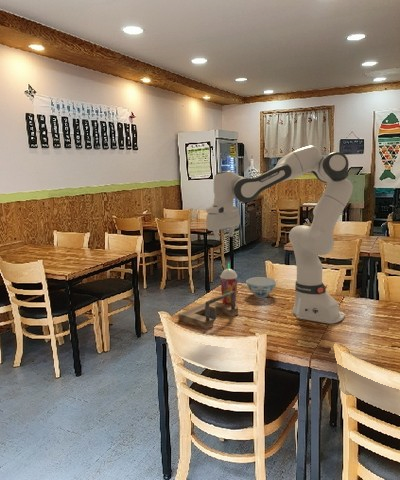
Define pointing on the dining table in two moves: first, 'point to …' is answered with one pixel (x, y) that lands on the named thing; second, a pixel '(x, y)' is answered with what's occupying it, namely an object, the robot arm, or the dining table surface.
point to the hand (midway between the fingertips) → (224, 238)
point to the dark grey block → (211, 311)
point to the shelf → (200, 313)
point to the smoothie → (228, 284)
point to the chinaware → (261, 286)
